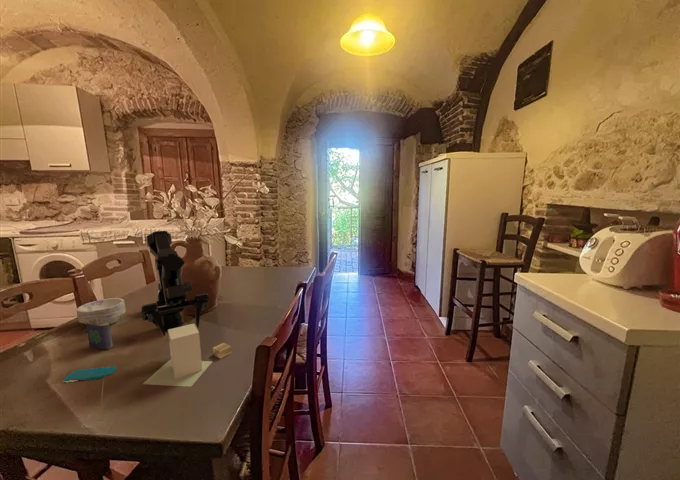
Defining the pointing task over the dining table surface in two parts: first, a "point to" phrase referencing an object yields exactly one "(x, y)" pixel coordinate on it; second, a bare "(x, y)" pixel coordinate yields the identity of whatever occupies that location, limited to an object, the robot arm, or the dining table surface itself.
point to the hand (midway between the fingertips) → (181, 331)
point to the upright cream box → (185, 350)
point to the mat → (167, 376)
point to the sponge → (90, 373)
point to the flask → (99, 334)
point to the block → (222, 350)
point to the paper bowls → (102, 310)
